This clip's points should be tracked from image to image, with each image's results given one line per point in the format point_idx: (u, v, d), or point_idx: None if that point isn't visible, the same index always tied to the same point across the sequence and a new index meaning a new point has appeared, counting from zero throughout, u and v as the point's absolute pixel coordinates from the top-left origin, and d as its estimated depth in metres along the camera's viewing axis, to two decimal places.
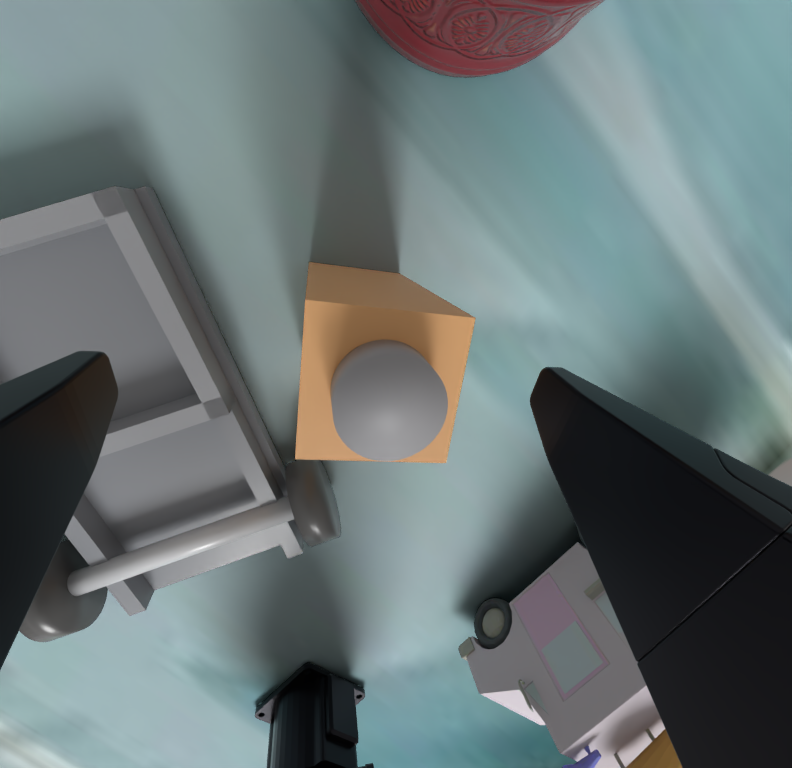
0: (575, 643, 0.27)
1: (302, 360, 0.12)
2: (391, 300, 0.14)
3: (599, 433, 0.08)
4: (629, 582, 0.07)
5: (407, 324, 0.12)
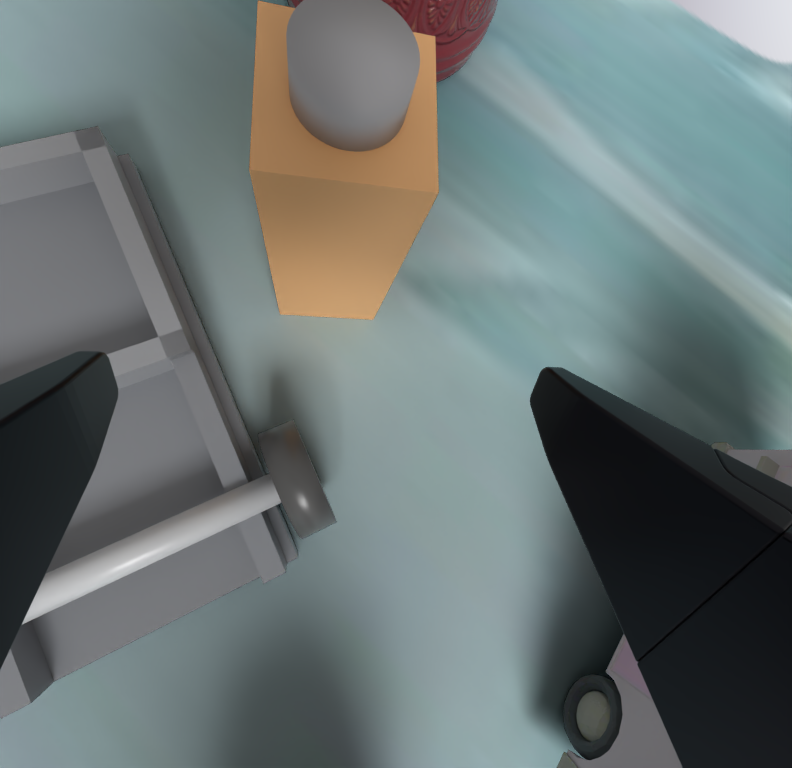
0: None
1: (256, 56, 0.11)
2: None
3: (599, 433, 0.08)
4: (629, 582, 0.07)
5: None
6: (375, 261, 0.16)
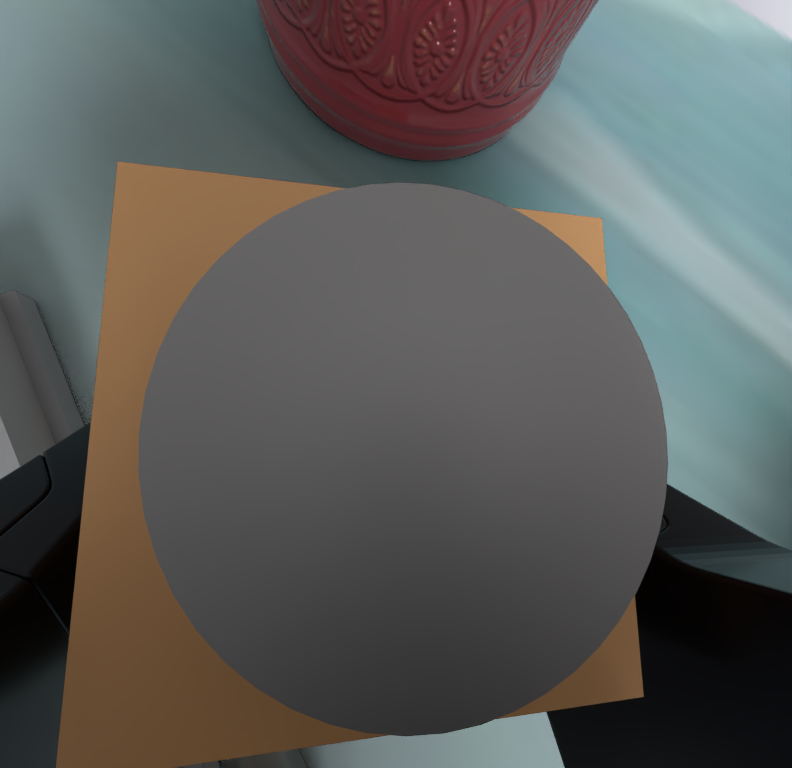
0: None
1: (102, 347, 0.04)
2: None
3: None
4: None
5: None
6: None
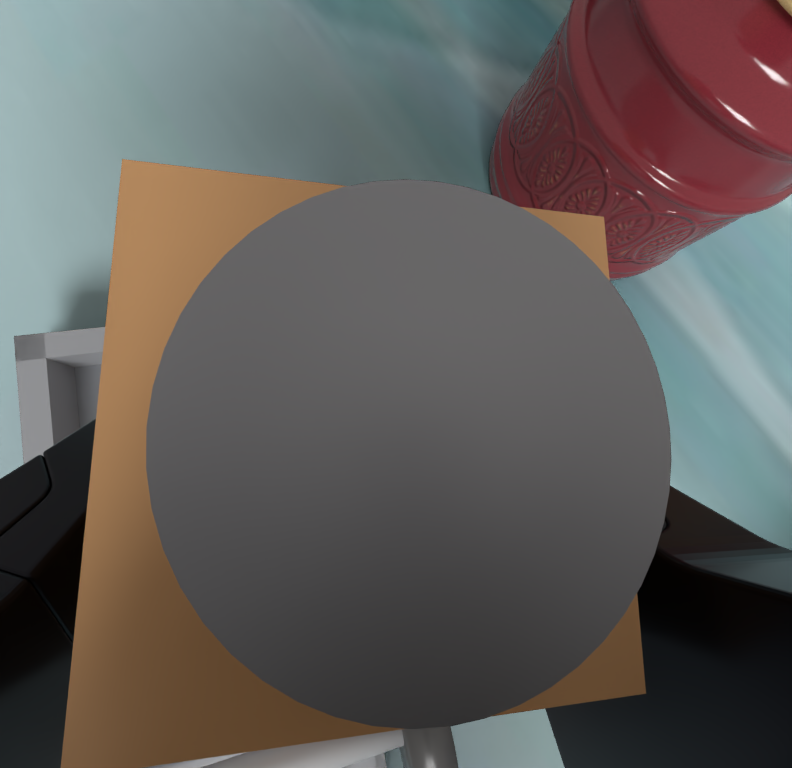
0: None
1: (106, 344, 0.04)
2: None
3: None
4: None
5: None
6: None
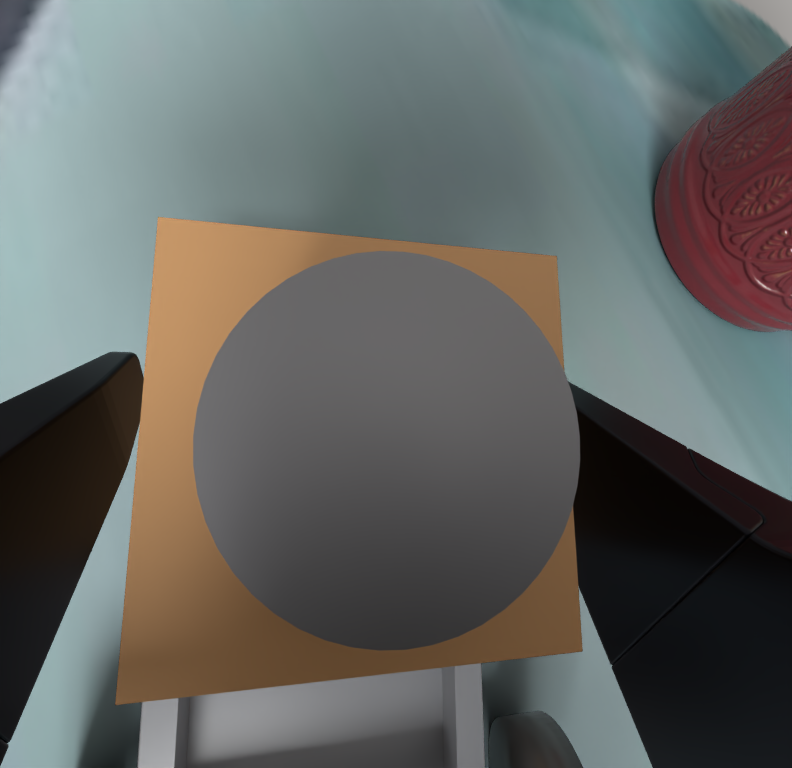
0: None
1: (147, 367, 0.04)
2: None
3: None
4: (604, 584, 0.07)
5: None
6: None
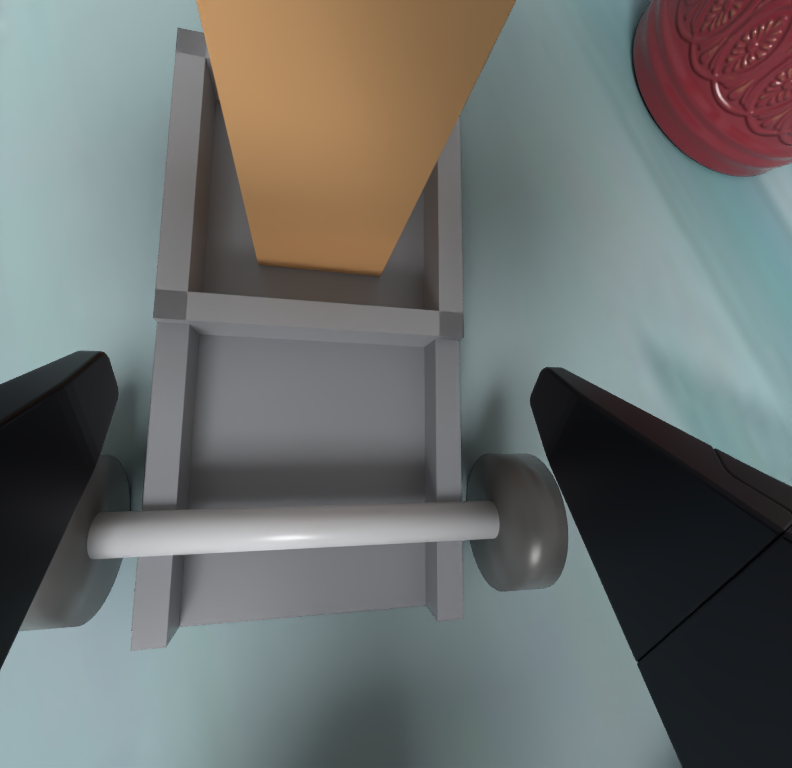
0: None
1: None
2: None
3: (599, 433, 0.08)
4: (629, 582, 0.07)
5: None
6: (394, 163, 0.11)
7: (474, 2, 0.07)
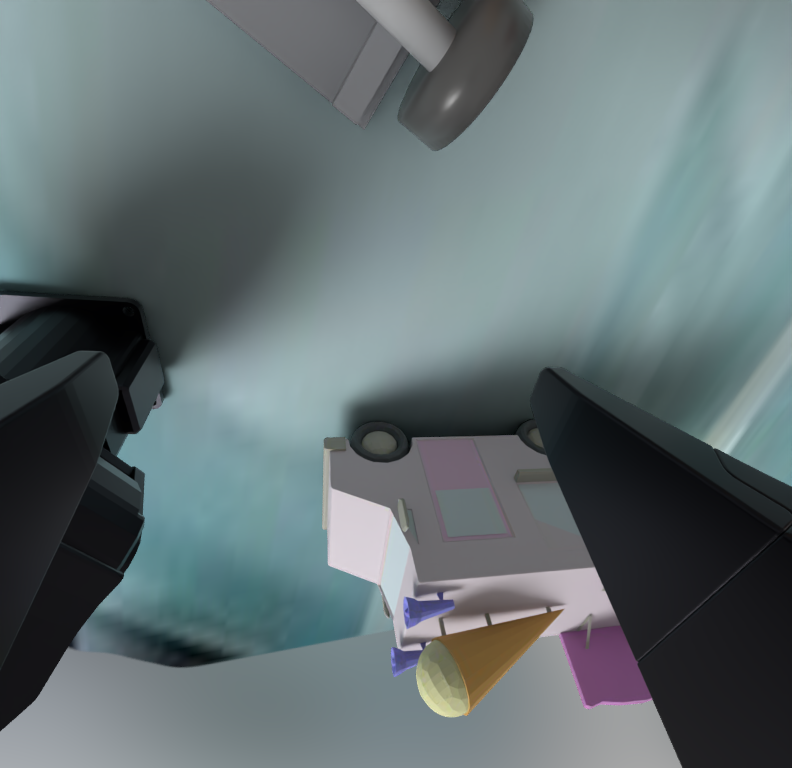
0: (479, 504, 0.23)
1: None
2: None
3: (599, 433, 0.08)
4: (629, 582, 0.07)
5: None
6: None
7: None
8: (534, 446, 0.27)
